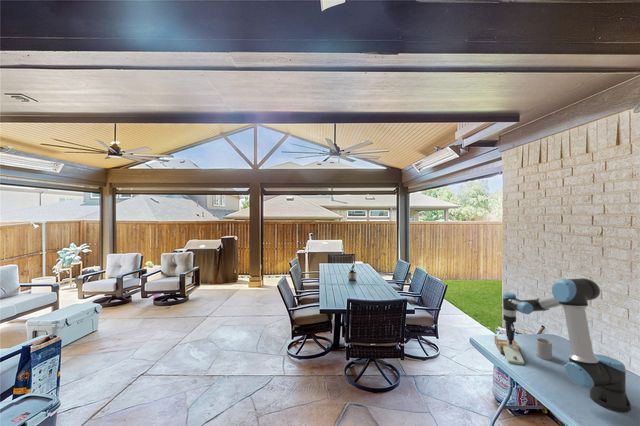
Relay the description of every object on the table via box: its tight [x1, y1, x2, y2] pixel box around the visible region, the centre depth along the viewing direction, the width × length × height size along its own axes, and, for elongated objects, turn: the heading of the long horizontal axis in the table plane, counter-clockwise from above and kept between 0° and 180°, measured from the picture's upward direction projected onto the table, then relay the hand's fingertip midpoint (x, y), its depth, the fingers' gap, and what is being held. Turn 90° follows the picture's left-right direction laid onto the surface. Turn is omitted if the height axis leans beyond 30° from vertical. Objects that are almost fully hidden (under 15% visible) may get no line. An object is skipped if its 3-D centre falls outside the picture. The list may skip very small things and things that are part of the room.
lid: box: [503, 347, 525, 366], centre depth 189 cm, size 12×9×3 cm
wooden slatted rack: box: [494, 335, 522, 355], centre depth 202 cm, size 16×12×6 cm
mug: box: [535, 337, 553, 361], centre depth 193 cm, size 12×8×11 cm
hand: (510, 348), depth 196 cm, fingers closed
